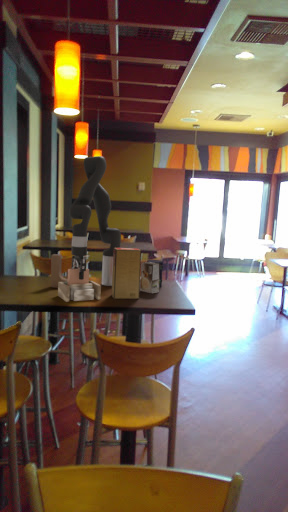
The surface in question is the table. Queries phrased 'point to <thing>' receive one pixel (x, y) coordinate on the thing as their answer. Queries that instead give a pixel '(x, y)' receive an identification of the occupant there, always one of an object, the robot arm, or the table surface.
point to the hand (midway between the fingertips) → (78, 277)
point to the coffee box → (150, 277)
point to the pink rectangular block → (77, 277)
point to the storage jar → (160, 269)
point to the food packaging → (126, 273)
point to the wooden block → (56, 270)
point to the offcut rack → (79, 291)
